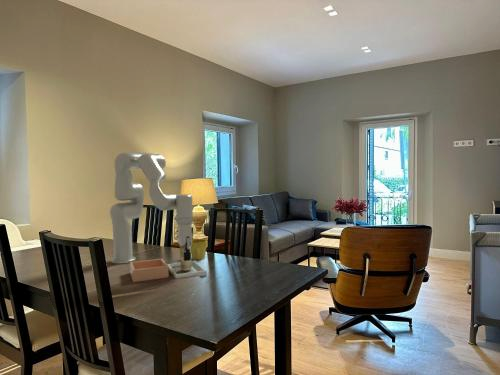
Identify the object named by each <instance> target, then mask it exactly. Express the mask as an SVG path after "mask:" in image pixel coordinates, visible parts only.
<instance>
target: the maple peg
mask: <svg viewBox="0 0 500 375" xmlns="http://www.w3.org/2000/svg"><path fill="white" fill-rule="evenodd" d="M185 245H187V244H185ZM190 246H191V245H190ZM190 250H191V247H190ZM179 253H180V263H181V266H180V271H190V270H192V269H191V261H192V259H191V260H189V261H184V245H183V246H181V245H180V244H179Z"/></svg>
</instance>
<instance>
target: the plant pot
mask: <svg viewBox="0 0 500 375" xmlns="http://www.w3.org/2000/svg"><path fill="white" fill-rule="evenodd" d="M207 248H208V240H207V239H206V238H205V239H204V238H203V239H201V238H198V239H197V238H196V239H192V245H191V259H192V260H193V261H199V260H204V259H205V258H206V251H207Z"/></svg>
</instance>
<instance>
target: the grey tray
mask: <svg viewBox="0 0 500 375" xmlns="http://www.w3.org/2000/svg"><path fill="white" fill-rule="evenodd" d="M166 264H167V265H168V271H170V273H171V274H172V276H173V277H174V278H175V279H182V278H189V277H195V276H198V277H199V278H203V277H204V278H205V277H207V273H208V272H207V269H205V268H204V267H203V266H202V265H200V263H198V261H197V260H191V270H192V272H191V271H190V272H185V273H177V272H176V270H175V269H174V268H176V267H181V262H174V263H166Z"/></svg>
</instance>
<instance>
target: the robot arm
mask: <svg viewBox="0 0 500 375" xmlns="http://www.w3.org/2000/svg"><path fill="white" fill-rule="evenodd" d="M166 162H167V161H166V158H165V157H164V156H163V155H162V154H159V153H147V152H133V151H132V152H131V151H123V152H121V153H119V154H118V155H116V157H115V160H114V171H115V177H114V178H115V180H114V198H115V199H116V200H117V201H121V202H118V203H114V204H113V205H112V206H111V207H110V210H109V215H110V218H111V219H110V220H111V223H112V224H111V225H112V244H113V258H111V259H110V263H112V264H117V265H118V264H119V265H121V264H128V263H129V264H130V262H136V257H135V256H133V236H132V235H133V232H132V225H131V224H130V222H129V220H133V219H138V218H140V217H141V216H142V214H143V212H144V198H145V190H144V187H143V185H142V184H141V183H139V182H133V173H132V171H131V169H138V170H139V169H141V172H142V173H143V175H144V176H145V177H146V179H147V180H148V182H149V188H148V189H149V190H148V191H149V192H148V193H149V197H150V199H151V201H152V202H153V204H154V206H155V207H156V208H157V209H158V210H160V211H161V212H163V211H171V210H176V226H177V243H178V244H179V246H180V245H181V246H183V245H184V261H189V260H191V261H192V254H191V250H190V247H191V246H190V245H192V240H193V235H192V234H193V232H192V230H193V229H192V224H194V215H193V214H194V213H193V212H194V211H193V210H194V208H193V196H192V195H191V194H180V193H167V194H164V193H163V191H162V190H161V188H160V185H162V184H163V182H164V181H165V180H166V179H167V178H166V177H167V176H166V173H165V172H164V168H166ZM122 201H123V202H122ZM125 201H127V202H125ZM185 244H187V245H185Z"/></svg>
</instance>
